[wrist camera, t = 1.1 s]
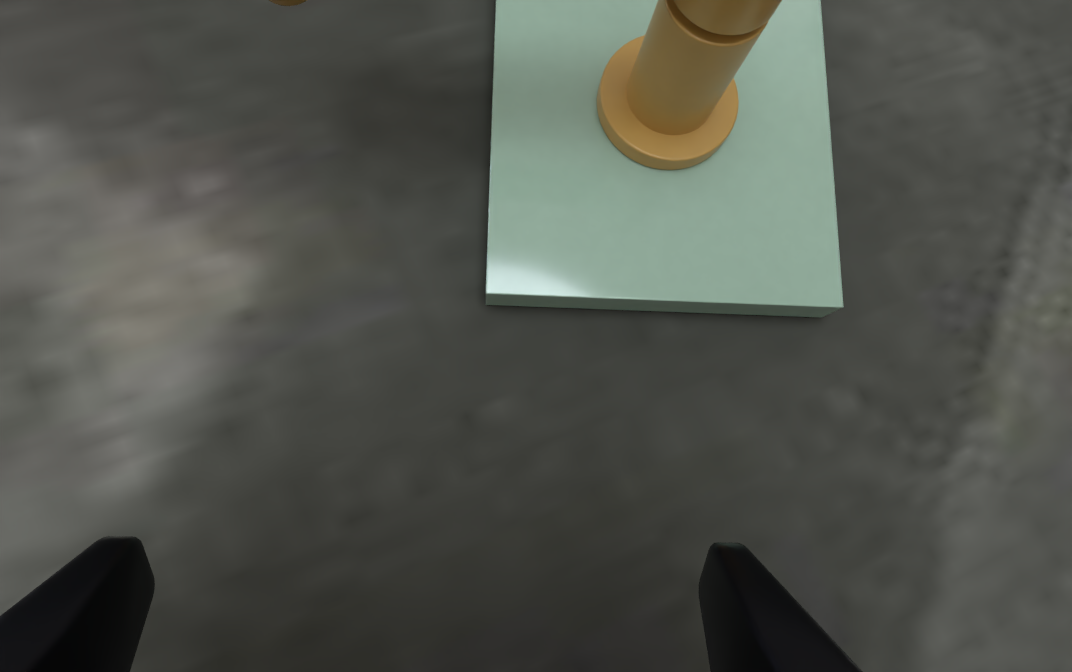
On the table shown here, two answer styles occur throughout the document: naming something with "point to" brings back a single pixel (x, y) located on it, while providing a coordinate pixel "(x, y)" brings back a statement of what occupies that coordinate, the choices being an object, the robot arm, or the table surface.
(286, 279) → the table surface
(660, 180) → the tap deck
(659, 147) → the tap column
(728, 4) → the spout
